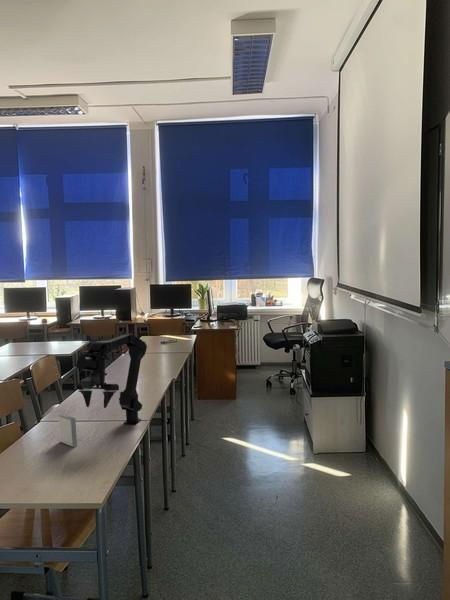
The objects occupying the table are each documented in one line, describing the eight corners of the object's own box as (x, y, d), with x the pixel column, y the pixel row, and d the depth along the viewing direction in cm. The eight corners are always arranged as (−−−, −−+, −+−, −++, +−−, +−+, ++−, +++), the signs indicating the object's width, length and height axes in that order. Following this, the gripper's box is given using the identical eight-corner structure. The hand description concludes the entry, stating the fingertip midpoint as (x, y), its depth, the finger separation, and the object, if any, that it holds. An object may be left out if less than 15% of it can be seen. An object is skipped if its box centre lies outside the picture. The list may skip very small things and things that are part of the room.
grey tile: (63, 440, 196) (62, 413, 195) (77, 445, 190) (75, 418, 189) (59, 442, 194) (57, 415, 193) (72, 447, 188) (71, 419, 187)
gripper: (68, 370, 192) (65, 407, 189) (104, 370, 185) (101, 409, 182) (86, 370, 202) (83, 406, 199) (120, 370, 195) (118, 407, 192)
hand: (96, 407), depth 193 cm, fingers open, 9 cm apart
